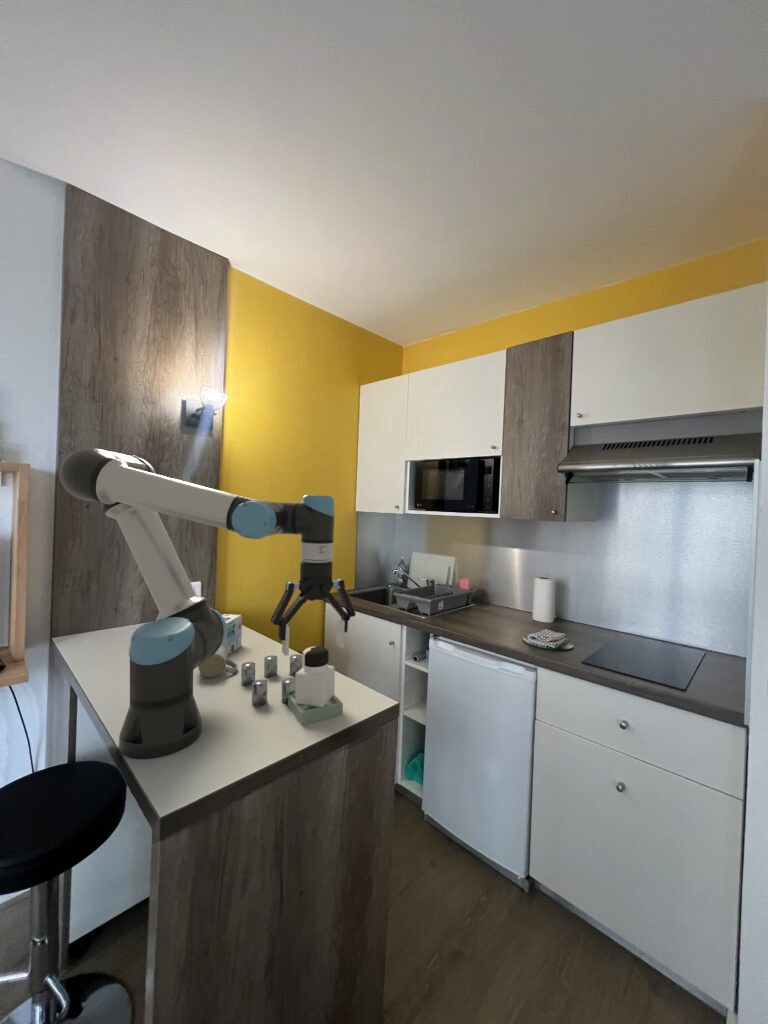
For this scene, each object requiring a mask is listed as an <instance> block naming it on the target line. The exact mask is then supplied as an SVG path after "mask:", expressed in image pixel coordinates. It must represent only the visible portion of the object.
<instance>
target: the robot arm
mask: <svg viewBox="0 0 768 1024" xmlns="http://www.w3.org/2000/svg"><path fill="white" fill-rule="evenodd" d="M59 480H60V482H61V483H60V484H62V486H63V488H64V489H65V490H66V491H67V492H68V493H69V494H70V495H72V496H73V497H75V498H77V499H79V500H83V501H90V502H96V503H100V506H101V507H102V510H103V512H104V513H105V515H106V517H109V518H111V519H113V520H116V522H117V524H118V527H119V528H120V530H121V532H122V534H123V537H124V539H125V542H126V543H127V545H128V548H129V549H130V551H131V553H132V555H133V558H134V561H135V562H136V565H137V566H138V568H139V571H140V573H141V576H142V578H143V579H144V581H145V583H146V586H147V589H148V590H149V592H150V594H151V597H152V598H153V601H154V603H155V605H156V608H157V610H158V615H157V617H156V619H155V620H152V621H149V622H147V623H145V624H142V625H140V626H139V627H138V628H136V630H134V631H133V633H132V634H131V637H130V644H129V645H130V646H129V648H128V656H129V706H128V710H127V714H126V716H125V719H124V722H123V724H122V727H121V729H120V732H119V737H118V738H119V739H118V749H119V751H120V753H121V752H122V753H121V754H123V755H124V756H127V757H129V758H134V759H150V758H157V757H163V756H166V755H170V754H172V753H175V752H178V751H180V750H182V749H184V748H186V747H188V746H189V745H192V744H193V743H194V742H195V741H196V740H197V739H198V738H199V737H200V735H201V734H202V729H203V720H202V715H201V713H200V710H199V708H198V704H197V701H196V699H195V696H194V670H195V669H196V668H198V666H199V665H200V664H201V663H203V662H204V661H205V660H206V659H208V658H210V657H211V656H213V655H214V654H215V653H216V652H217V650H218V649H219V648H220V647H221V645H222V644H223V642H224V640H225V637H226V623H225V620H224V618H223V616H222V615H223V614H222V613H220V612H219V611H218V610H216V609H213V608H212V607H210V606H209V603H208V601H207V599H206V597H204V596H202V595H201V596H200V595H198V594H197V593H196V591H195V589H194V588H193V585H192V583H191V580H190V579H189V577H188V574H187V572H186V569H185V568H184V566H183V564H182V562H181V560H180V557H179V555H178V553H177V550H176V549H175V547H174V544H173V542H172V540H171V538H170V536H169V533H168V532H167V530H166V528H165V527H166V526H165V525H164V523H163V521H162V519H161V517H160V514H165V515H168V516H172V517H176V518H178V519H179V518H180V519H184V520H188V521H191V522H195V523H200V524H203V525H208V526H210V527H215V528H218V529H223V530H228V531H231V532H233V533H237V534H238V535H239V536H241V537H242V538H246V539H249V540H250V539H251V540H259V539H263V538H265V537H268V536H274V535H301V536H300V537H301V539H300V540H301V541H300V542H301V545H300V559H302V560H301V562H300V567H299V569H300V570H299V571H300V572H299V574H300V575H299V581H298V582H292V581H289V580H288V581H286V583H285V589H284V592H283V595H282V596H281V599H280V600H279V602H278V604H277V606H276V608H275V609H274V612H273V614H272V616H271V618H270V622H271V623H272V624H273V625H275V626H278V636H277V637H278V639H279V640H280V641H282V644H281V646H282V647H281V649H282V651H281V652H282V654H283V655H284V656H285V657H286V656H289V654H290V653H289V652H290V629H291V628H290V626H289V622H291V620H292V619H293V617H294V616H295V615H296V614H297V612H299V610H300V609H301V607H302V606H303V605H304V604H306V602H307V601H310V602H311V601H313V602H314V601H316V600H318V601H324V599H326V601H327V602H328V603H329V604H330V605H331V607H332V608H333V610H335V612H336V613H337V615H339V617H338V618H337V619H336V620H337V622H336V623H337V624H336V625H337V626H336V646H338V647H340V649H342V648H344V647H345V643H344V642H345V633H347V632H348V631H349V630H348V628H349V627H348V624H349V621H350V620H351V618H352V617H356V612H355V609H354V606H353V603H352V601H351V600H350V597H349V595H348V592H347V590H346V585H345V580H343V579H342V578H336V580H333V566H334V565H333V562H332V559H333V558H334V556H333V554H334V533H335V516H336V515H335V499H334V497H332V496H330V495H323V494H322V495H321V494H319V495H318V494H304V495H303V496H302V500H301V502H283V501H264V500H258V499H254V498H250V497H245V496H241V495H237V494H233V493H229V492H227V491H221V490H218V489H214V488H210V487H206V486H203V485H199V484H195V483H192V482H187V481H183V480H181V479H177V478H171V477H167V476H164V475H161V474H157V473H156V471H155V469H154V467H153V466H152V465H151V464H150V462H148V461H147V460H145V459H143V458H141V457H138V456H136V455H134V454H130V453H123V452H122V453H120V452H115V451H112V450H111V451H110V450H106V449H102V448H98V447H85V448H80V449H77V450H74V451H72V452H71V453H69V454H68V455H67V456H66V457H65V458H64V459H63V461H62V462H61V465H60V467H59ZM159 513H160V514H159ZM333 587H334V589H336V590H337V592H338V593H337V594H338V595H339V597H340V600H341V602H342V604H343V606H344V608H343V607H342V605H340V603H339V602H338V601H337V599H335V597H334V595H333V594H332V593H331V590H332V589H333ZM297 589H299V591H300V593H299V594H298V595H297V596H296V598H295V600H294V601H293V602H292V603H291V605H290V606H289V607H288V605H289V603H290V601H291V599H292V598H293V595H294V593H295V592H296V591H297ZM287 607H288V608H287ZM286 609H287V610H286ZM344 609H345V610H344Z"/></svg>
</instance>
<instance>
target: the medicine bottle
mask: <svg viewBox="0 0 768 1024" xmlns="http://www.w3.org/2000/svg"><path fill="white" fill-rule="evenodd" d="M329 654H330V653H329V649H328V648H326V647H324V646H310V647H307V648H306V649H305V648H304V650H303V652H302V656H303V665H302V669H301V670H299V671H298V672H297V673H296V674H295V676H294V678H295V703H296V704H303V705H309V706H316V707H324V705H325V704H326V703H327V702H328V701H329V700H330V699H331V698H332V696H333V695H335V687H336V686H335V685H336V684H335V682H336V681H335V680H336V679H335V678H336V675H335V673H336V672H335V671H336V667H335V666H334V665H329Z"/></svg>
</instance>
